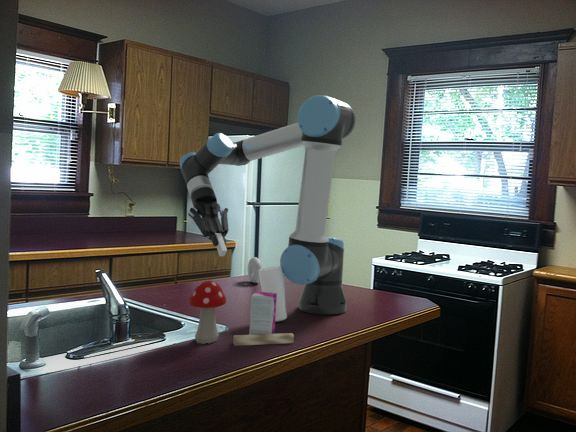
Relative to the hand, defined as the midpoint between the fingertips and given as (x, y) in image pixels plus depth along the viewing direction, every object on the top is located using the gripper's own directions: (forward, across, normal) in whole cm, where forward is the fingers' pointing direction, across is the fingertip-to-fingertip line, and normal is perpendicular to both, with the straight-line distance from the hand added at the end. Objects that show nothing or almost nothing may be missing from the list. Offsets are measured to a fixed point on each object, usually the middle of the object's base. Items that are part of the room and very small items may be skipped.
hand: (223, 253), depth 166 cm
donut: (-16, -33, -43) cm, 57 cm away
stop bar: (+34, +2, +7) cm, 34 cm away
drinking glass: (+22, -12, -4) cm, 25 cm away
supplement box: (+31, 0, +4) cm, 31 cm away
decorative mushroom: (+28, +14, +1) cm, 31 cm away
